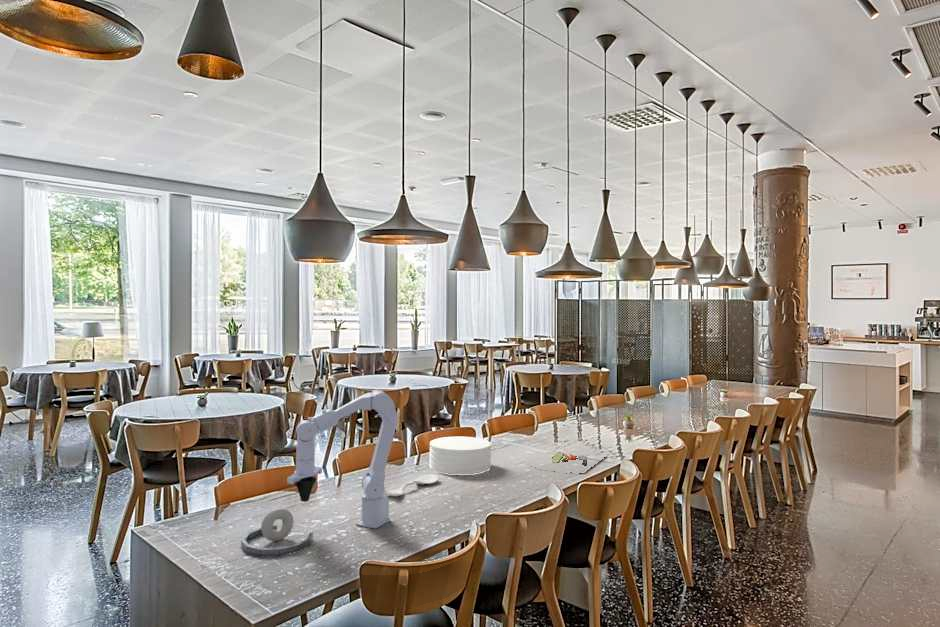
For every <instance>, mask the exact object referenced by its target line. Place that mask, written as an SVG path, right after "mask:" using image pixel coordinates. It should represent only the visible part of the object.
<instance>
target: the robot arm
mask: <svg viewBox="0 0 940 627" xmlns="http://www.w3.org/2000/svg"><path fill="white" fill-rule="evenodd" d="M372 408H373V410H374V411H375V412H376V413H378V416H380V418H381V420H382V422H381V424H380V428H379V433H378V436H377V439H376V440H377V441H376V443H375V447H374V451H373V454H372V455H373V456H372V458H371V463H370V465H369V467H368V469H367V471H366V474H365V475H364V476H363V477H362V480H361V487H362V488H363V492H362V495H361V519H360V520H359V521H357V522H356V523H355V525H357V526H362V527H366V528H372V529H378V528H379V527H381V526H383V525H385V524H387V523H389V521H391V520H392V518H391V517H390V499H389V497H388V495H386V494H384V491H386V487H385V479H386V477H385V475H386V474H385V471H386V466H387V464H388V459H389V456H390V451H391V448H392V444H393V441H394V436H395V433H396V432H395V431H396V429H397V428H396V427H397V425H398V422H399V416H398V413H397V411H396V410H397V409H396V407H395V403H394V401H393V399H392V398H391V396H389V394H387V393H386V392H384V391H383V390H381V389H374V390H372V391H371V392H366V393H364V394H362V395H360V396H358V397H356V398H354V399H353V400H351V401H349V402H347V403H346V404H344V405H342V406H340V407H338V408H337V409H334V410H333V409H331V408H329V409H328V408H327V409H325V408H324V409H322V410H321V412H320V413H318V414H316V415H314V416H312V417H311V416H309V417H307V420H306V419H304V420H301V421H300V422H299V423H298V424H297V426H296V428H295V432H296V435H297V439H296V449H295V450H296V452H295V454H296V455H295V457H296V458H295V470H294V471H293V474H291V475H289V476H288V477H287V478H286V479H287V480H286V484H288V485H295V486H296V489H297V491H298V493H299V494H298V495H299V498H300V501H301V502H305V503H306V502H308V501H310V496H311V493H312V490H313V488H314V485H315V483H316V482H317V477H314V476H315V475H321V474H322V473H323V467H322V466H315V464H316V463H315V455H316V454H315V453H316V451H315V450H316V444H315V437H316V435H319V434H322V433H324V432H325V431H327V430H329V429H331V428H333V427H335V426H337V424H338V422H339V420H340V419H342V418H344V417H347V416H349V415H351V414H353V413H356V412H358V411H360V410H364V411H365V410H367V411H372Z"/></svg>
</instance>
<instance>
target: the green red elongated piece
mask: <svg viewBox="0 0 940 627" xmlns="http://www.w3.org/2000/svg"><path fill="white" fill-rule="evenodd" d="M564 455H565V454H564V453H561V452H558V453H556V454H555V456H553V457H552V462H553V463H559V462H560V460H561V459H562V458H563V456H564ZM570 456H571V457H569V456H567V455H565V457H566V458H564V459H563V460H562V462H568V460H576V459H579V460H583V463H582V465H584V466H587V457H586V456H583V455H582V456H581V455H580V456H579V457H578V458H576V457H577V456H573V455H571V454H570ZM567 458H568V459H567ZM566 459H567V460H566Z"/></svg>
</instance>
